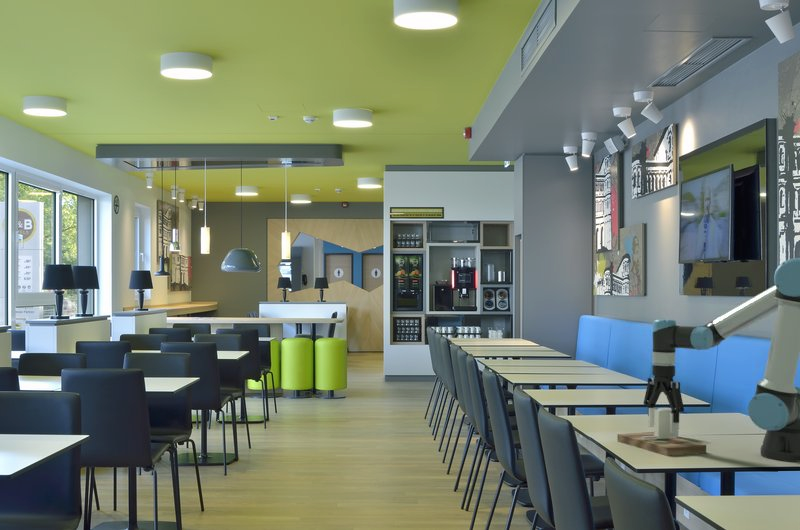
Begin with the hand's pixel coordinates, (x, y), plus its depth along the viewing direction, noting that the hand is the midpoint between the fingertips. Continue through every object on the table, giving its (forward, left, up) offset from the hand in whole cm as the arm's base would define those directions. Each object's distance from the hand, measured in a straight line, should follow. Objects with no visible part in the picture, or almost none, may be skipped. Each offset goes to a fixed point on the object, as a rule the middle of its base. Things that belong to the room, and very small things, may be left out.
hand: (662, 429), depth 285 cm
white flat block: (0, +3, -3) cm, 4 cm away
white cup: (+15, -15, -6) cm, 22 cm away
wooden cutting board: (0, +1, -6) cm, 6 cm away
